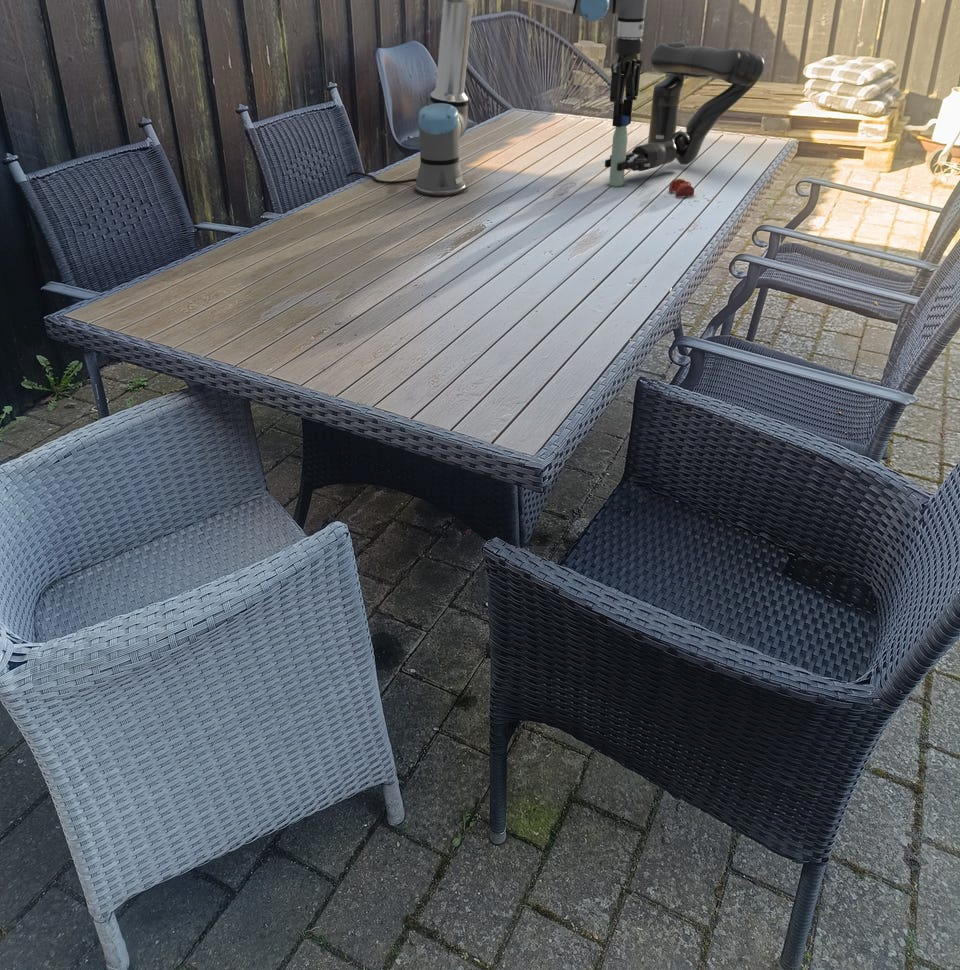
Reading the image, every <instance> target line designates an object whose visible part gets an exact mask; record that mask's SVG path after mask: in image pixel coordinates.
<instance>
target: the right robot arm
mask: <svg viewBox="0 0 960 970" xmlns="http://www.w3.org/2000/svg"><path fill="white" fill-rule="evenodd" d="M650 63H651V66H652V69H653V71H655V72H656V73H658V74H663V75H664V74H667V75H666V77H664V79H663V80H662V81H659V82H658V83H656V84H655V85H654V86H653V93H652V103H651V111H650V118H649V119H650V120H649V128H648V129H649V131H648V137H647V138H648V139H647V143H645V144H642V145H637V146H635V147H634V148H633V149H632V151H630V152H626V160H625V162H621V163H618V164H617V171H622V170H624V171H625V170H626V171H630V170H631V171H632V172H643V171H647V170H651V169H655V168H658V167H660V166H663V165H667V164H670V163H672V162H674V161H675V159H676V161H677V162H678V163H679V164H680V165H682V166H686V165H689V164H691V163H692V162H694V160H695V159H696V158H697V157H698V154H699V152H700V150H701V147H702V145H703V143H704V141H705V140H706V139H705V138H706V137H707V135H708V134H709V132H711V130H712V129H713V127H714V126H715V125H716V123H717V122H718V121H719V120H720V119H721V117H723V115H724V114H725V113H726V112H728V110H729V109H731V108H732V107H733V106H734V105H735V104H736V103H737V102H738V101H740V99H742V97H744V96H745V94H747V93H748V92H749V91H750V90H751V89H752V88H753V87H754V86H755V85H756V84H757V83H758V81H759V80H760V79H761V77H762V75H763V72H764V68H765V60H764V58H763V57H762V56H761V55H760V54H758V53H755V52H752V51H749V50H745V49H741V48H730V49H718V48H716V47H712V46H706V45H692V46H691V45H690V46H687V45H686V43H684V42H682V41H676V42H675V41H673V42H662V43H659V44H658V45H656V46H655V47H654V49H653V50H652V52H651V54H650ZM685 77H689V78H692V79H698V80H709V79H712V78H717V79H719V80H722V81H724V82H726V83H729V84H730V85H729V86H728V87H727V88H726V89H725V90H724V91H722V92H721V93H719V94H717V95H715V96H714V97H712V98H711V99H708V100H706V102H705V103H703V104H702V105H701V106H700V107H699V108H698V109H697V110H696V112H695V113H694V114H693V116H692V117H690V119H689V121H688V122H687V123H686V127H685V128H686V131H681V130H678V131H677V124H678V117H679V116H678V115H679V108H680V101H681V92H682V89H683V87H684V82H685ZM611 156H612V154H610V155H609V158H608V159H605V161H604V168H607V169H608V168H610V167H611Z"/></svg>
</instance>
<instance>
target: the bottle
mask: <svg viewBox="0 0 960 970" xmlns="http://www.w3.org/2000/svg"><path fill="white" fill-rule="evenodd" d="M628 139H629V138H628V127H627V126H621V127H616V126H615V129H614V132H613V135H612V144H611V155H612V156H611V167H609V168H610V170H609V180H608V181H609V182H608V185H609V186H610V187H622V186H624V178H625V170H622V171H617V164H618V163H621V162H625V160H626V154H627V148H628Z"/></svg>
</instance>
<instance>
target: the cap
mask: <svg viewBox="0 0 960 970" xmlns="http://www.w3.org/2000/svg"><path fill="white" fill-rule="evenodd" d="M629 125H630V124H629V116H627V115H622V126H626V127H627V126H629Z"/></svg>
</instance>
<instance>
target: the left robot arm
mask: <svg viewBox="0 0 960 970" xmlns="http://www.w3.org/2000/svg"><path fill="white" fill-rule="evenodd" d="M475 1H476V0H442V9H441V21H440V31H439V32H440V35H439V45H438V46H439V48H438V57H437V72H436V81H435V83H436V84H435V89H434V90H433V91H432V92H431V93H430V97H429V105H425V106H423V107H422V108H420V110H419V112H418V119H417V123H418V134H419V135H418V136H419V157H420V158H419V159H420V161H419V162H420V164H419V168H418V172H417V176H416V178H409V179H404V180H381V179H378V178H377V177H375V176H374V175H372V174H369V173H365V172H362V171H356V170H355V171H354V170H353V171H350V172H349V173H347V174H346V176H345V177H347V178H348V177H351V176H352V175H360V176H363V177H367V178H370V179H372V180H373V181H374V182H375V183H378V184H379V183H380V184H386V185H387V184H388V185H389V184H390V185H393V184H394V185H395V184H407V183H412V182H415V185H414V186H415V192H417V193H418V194H420V195H424V196H430V197H450V196H455V195H459V194H461V193H463V192H464V191H466V181H465V179H464V176H463V172H462V169H461V165H460V144H459V143H460V141H459V140H460V139H461V138H462V137H463V135H464V134H465V132H466V131H467V129H468V125H469V114H468V113H469V112H468V107H469V97H468V95H467V94H466V92H465V86H466V76H467V65H468V56H469V55H468V54H469V47H470V38H471V37H470V36H471V26H472V16H473V15H472V14H473V7H474V6H473V5H474V2H475ZM520 1H521V2H525V3H529V4H532V5H537V6H541V7H545V8H548V9H553V10H557V11H560V12H564V13H568V14H572V15H574V16H579V17H582V18H584V19H585V20H587V21H590V22H597V21H600V20H601V19H604V18H605V17H606V15H607V14H608V15H611V14H613V15H615V14H617V22H616V23H617V24H616V34H615V35H616V37H617V38H616V39H615V48H614V52H615V53H616V54H617V55H618V56H617V60H616V63H615V64H611V66H610V69H611V79H610V90H609V91H610V92H609V102H610V103H612V104H613V112H612V113H613V115H612V124H611V125H612V127H615V128H616V127H621V126H622V115H627V116H629V125H631V122H632V112H633V105H634V104H633V103H634V101H637V99H638V96H639V88H640V79H641V69H642V65H643V62H644V61H643V59H639V57H638V55H640V54H641V53H642V52H643V51H642V50H643V42H644V41H643V40H644V39H642V37H643V36H644V29H645V19H646V10H647V3H648V2H647V1H648V0H520ZM624 93H625V99H624Z"/></svg>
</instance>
